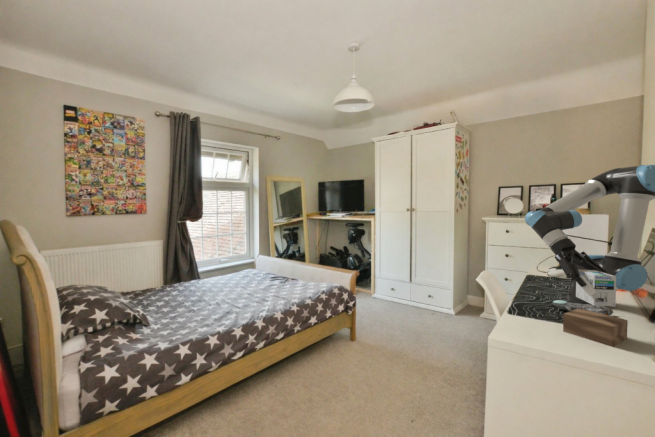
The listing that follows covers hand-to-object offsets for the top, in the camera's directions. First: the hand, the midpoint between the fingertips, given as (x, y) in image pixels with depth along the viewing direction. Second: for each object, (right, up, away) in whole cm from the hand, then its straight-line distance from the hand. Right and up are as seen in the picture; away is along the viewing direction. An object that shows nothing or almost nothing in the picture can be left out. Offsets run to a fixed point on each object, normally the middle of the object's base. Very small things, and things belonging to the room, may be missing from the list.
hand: (604, 292), depth 105 cm
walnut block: (0, -16, +4) cm, 17 cm away
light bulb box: (-1, -4, +3) cm, 5 cm away
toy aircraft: (+12, -15, +24) cm, 31 cm away
